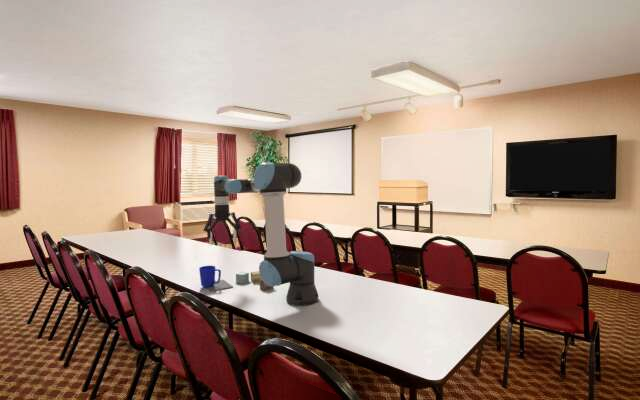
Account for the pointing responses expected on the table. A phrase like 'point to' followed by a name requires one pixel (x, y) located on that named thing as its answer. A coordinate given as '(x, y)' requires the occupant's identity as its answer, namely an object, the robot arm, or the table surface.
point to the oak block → (255, 277)
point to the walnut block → (264, 286)
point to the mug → (208, 275)
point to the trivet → (219, 286)
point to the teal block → (242, 277)
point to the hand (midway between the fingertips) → (223, 242)
